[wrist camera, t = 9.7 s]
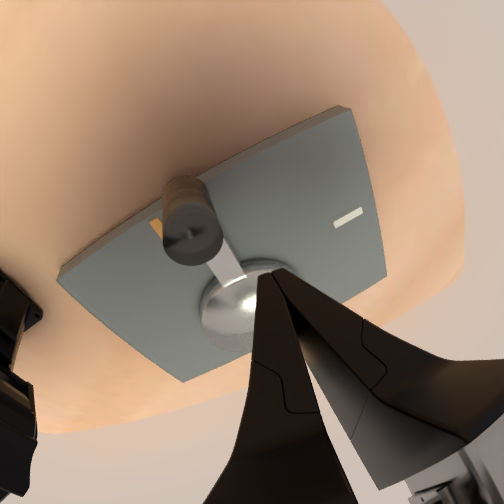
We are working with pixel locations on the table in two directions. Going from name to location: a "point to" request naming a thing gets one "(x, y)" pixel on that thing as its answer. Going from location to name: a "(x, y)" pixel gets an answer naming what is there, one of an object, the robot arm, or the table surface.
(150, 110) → the table surface
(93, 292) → the base plate
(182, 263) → the silver handled piece
